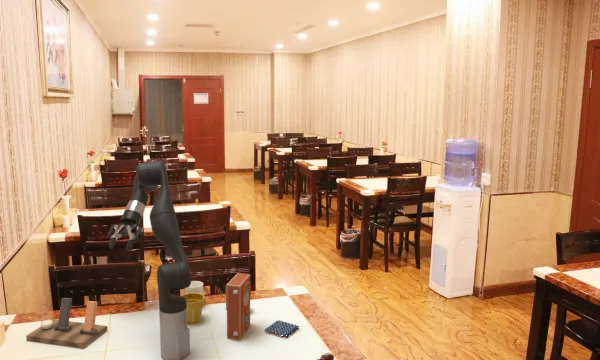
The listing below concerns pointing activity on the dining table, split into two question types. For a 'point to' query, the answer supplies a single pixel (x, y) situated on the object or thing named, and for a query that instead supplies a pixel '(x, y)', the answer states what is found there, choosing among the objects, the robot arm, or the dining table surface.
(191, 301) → the plant pot
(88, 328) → the orange block
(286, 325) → the woven mat
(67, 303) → the long grey beam
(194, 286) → the white cup
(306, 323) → the dining table surface
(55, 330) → the switch board
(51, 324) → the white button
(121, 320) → the dining table surface
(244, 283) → the control panel
